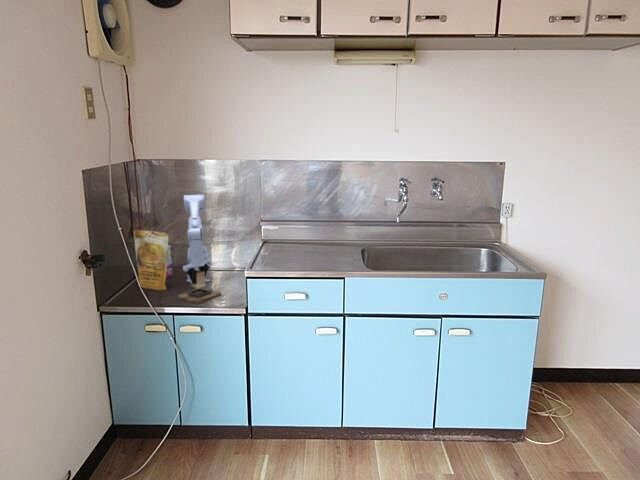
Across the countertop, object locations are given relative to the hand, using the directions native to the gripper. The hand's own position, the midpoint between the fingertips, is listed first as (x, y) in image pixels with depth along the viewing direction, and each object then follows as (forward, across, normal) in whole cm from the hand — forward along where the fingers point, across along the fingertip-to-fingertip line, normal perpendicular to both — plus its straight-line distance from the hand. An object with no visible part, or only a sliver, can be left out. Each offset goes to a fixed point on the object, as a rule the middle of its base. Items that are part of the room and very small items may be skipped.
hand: (198, 282), depth 218 cm
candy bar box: (+7, +6, +37) cm, 38 cm away
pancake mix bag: (+7, -5, +28) cm, 29 cm away
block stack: (+2, 0, 0) cm, 2 cm away
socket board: (+7, 0, 0) cm, 7 cm away
